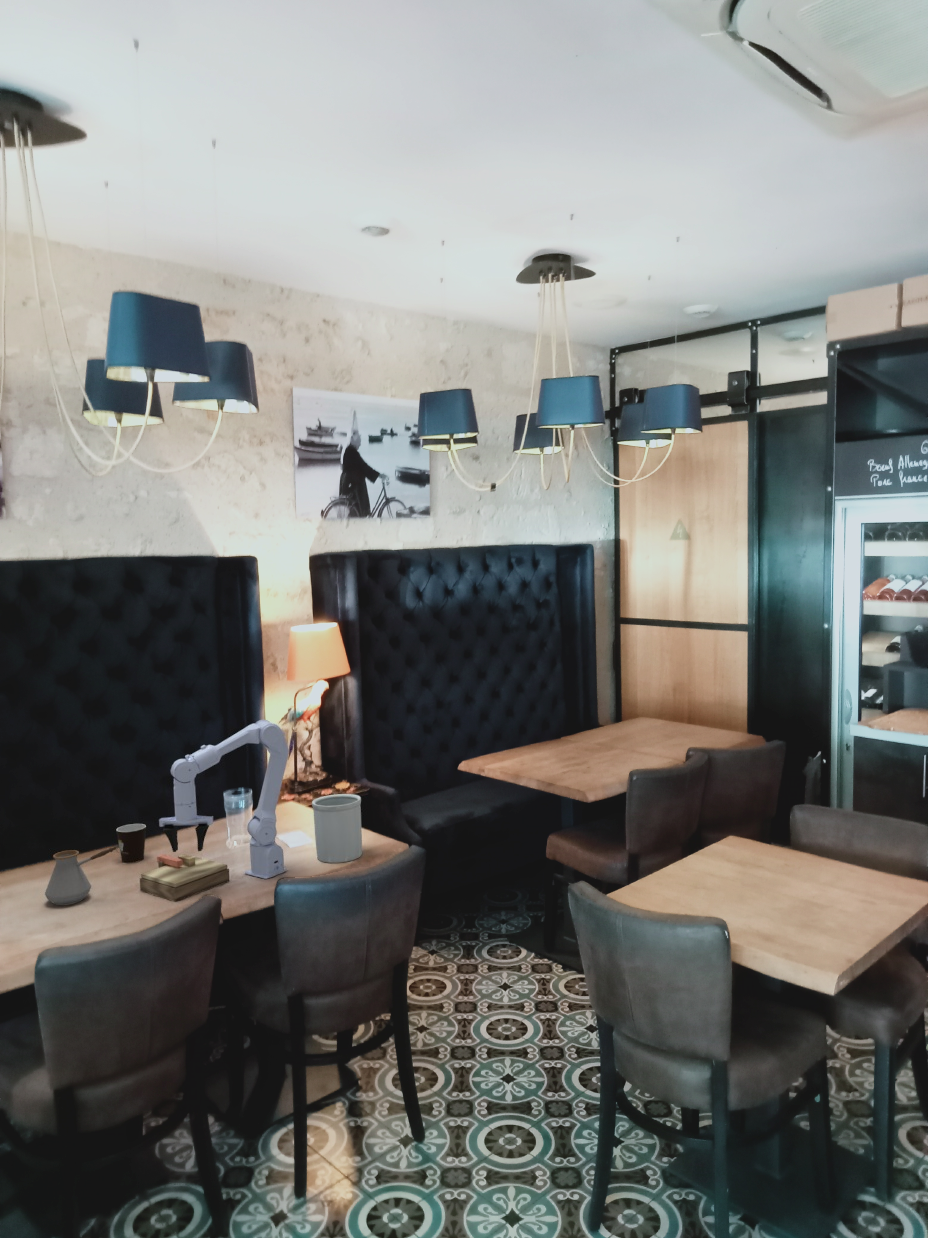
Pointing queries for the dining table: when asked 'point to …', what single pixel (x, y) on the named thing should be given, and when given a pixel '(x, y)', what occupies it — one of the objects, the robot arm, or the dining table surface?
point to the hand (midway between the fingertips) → (187, 850)
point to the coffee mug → (131, 842)
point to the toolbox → (184, 885)
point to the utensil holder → (338, 827)
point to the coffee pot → (70, 878)
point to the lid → (184, 871)
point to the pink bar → (170, 860)
